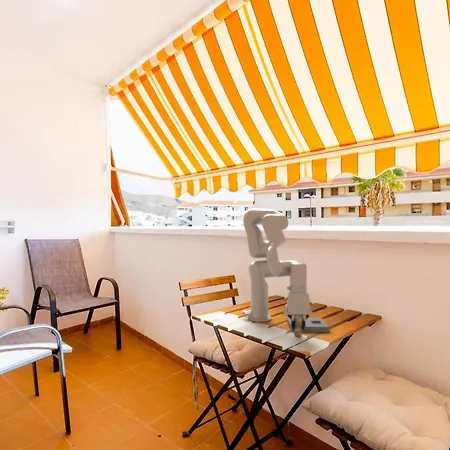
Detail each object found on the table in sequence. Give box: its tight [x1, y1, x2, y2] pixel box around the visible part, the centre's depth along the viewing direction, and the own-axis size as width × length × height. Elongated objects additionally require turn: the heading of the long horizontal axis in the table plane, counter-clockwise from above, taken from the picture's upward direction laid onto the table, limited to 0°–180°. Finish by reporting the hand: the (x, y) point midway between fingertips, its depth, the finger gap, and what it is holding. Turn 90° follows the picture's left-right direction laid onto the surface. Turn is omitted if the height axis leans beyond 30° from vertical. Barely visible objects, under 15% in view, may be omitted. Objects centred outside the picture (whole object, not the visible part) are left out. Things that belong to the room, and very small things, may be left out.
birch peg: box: [294, 315, 303, 338], centre depth 148 cm, size 4×4×12 cm
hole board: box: [286, 317, 330, 333], centre depth 161 cm, size 18×14×2 cm
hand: (298, 328), depth 149 cm, fingers closed on birch peg, 3 cm apart
